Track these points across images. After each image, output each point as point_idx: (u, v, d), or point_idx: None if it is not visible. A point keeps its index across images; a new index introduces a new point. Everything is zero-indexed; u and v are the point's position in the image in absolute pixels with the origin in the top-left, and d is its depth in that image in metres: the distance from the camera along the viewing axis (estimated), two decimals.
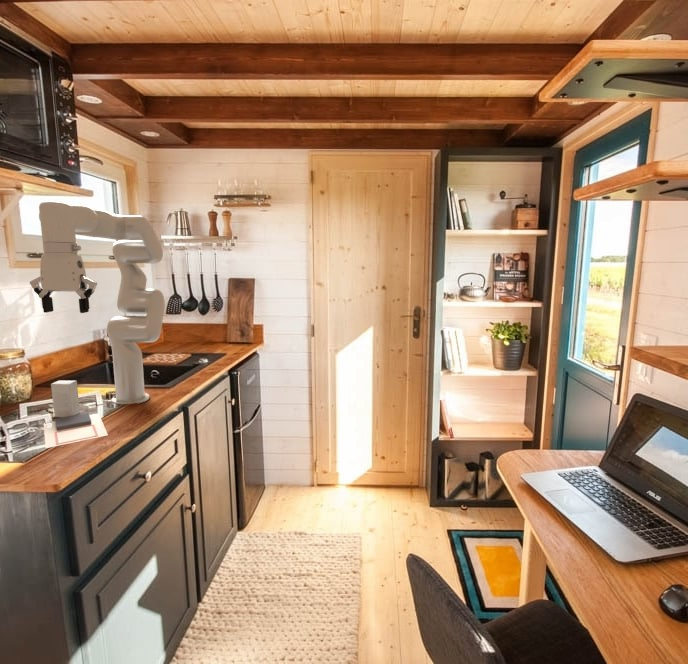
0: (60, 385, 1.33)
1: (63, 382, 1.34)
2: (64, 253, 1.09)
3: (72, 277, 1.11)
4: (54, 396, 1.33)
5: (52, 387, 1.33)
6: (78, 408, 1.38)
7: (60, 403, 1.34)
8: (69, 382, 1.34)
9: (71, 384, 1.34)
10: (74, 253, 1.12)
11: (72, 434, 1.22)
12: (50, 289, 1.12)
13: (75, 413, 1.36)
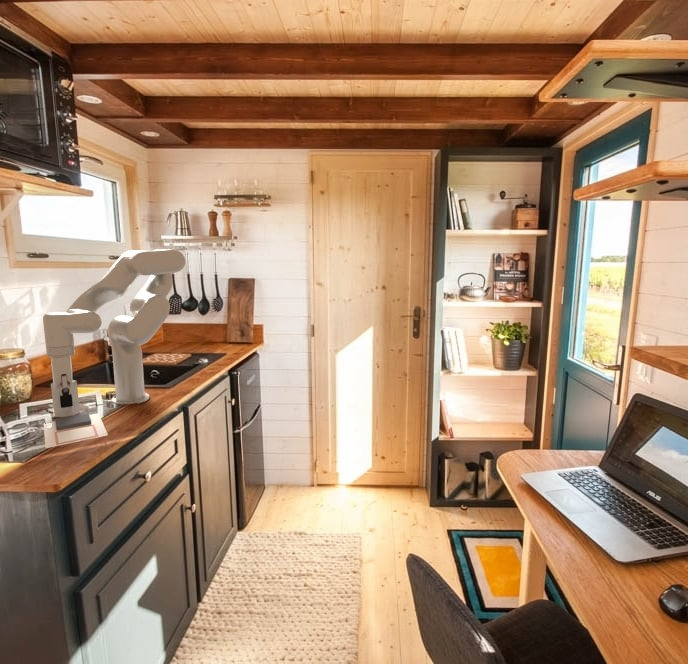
0: None
1: None
2: None
3: None
4: (54, 396, 1.33)
5: (52, 387, 1.33)
6: (78, 408, 1.38)
7: None
8: None
9: None
10: None
11: (72, 434, 1.22)
12: None
13: (75, 413, 1.36)
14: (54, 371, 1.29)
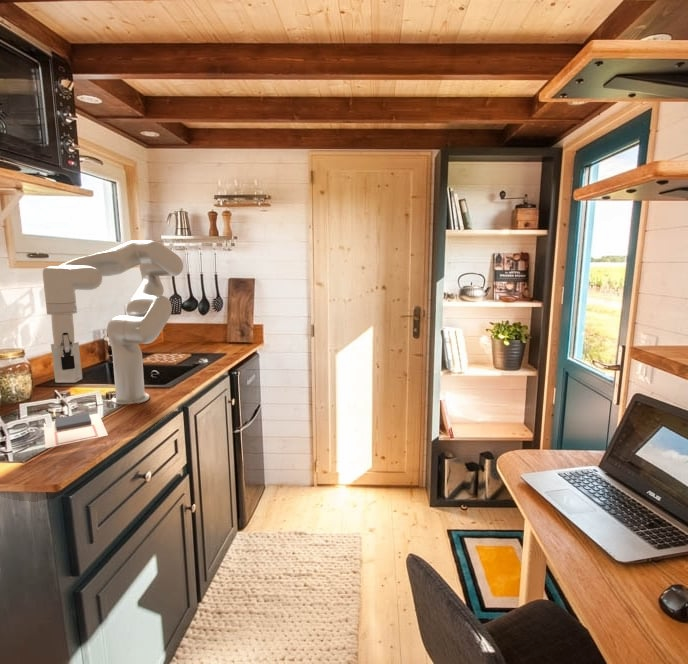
0: None
1: None
2: None
3: None
4: (54, 358, 1.24)
5: (52, 348, 1.24)
6: (80, 372, 1.28)
7: (61, 365, 1.24)
8: None
9: None
10: None
11: (72, 434, 1.22)
12: None
13: (77, 377, 1.27)
14: (55, 329, 1.19)
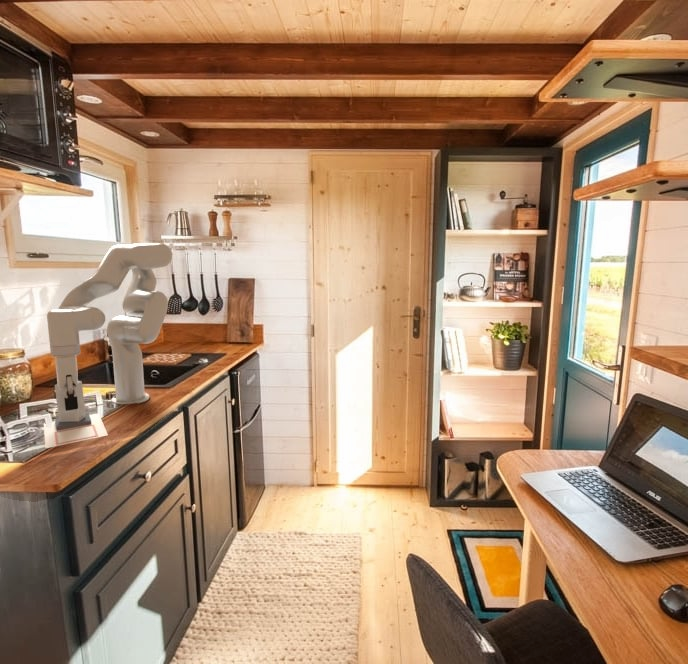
0: None
1: None
2: None
3: None
4: (58, 398, 1.26)
5: (56, 388, 1.25)
6: (83, 410, 1.30)
7: (64, 405, 1.26)
8: None
9: None
10: None
11: (72, 434, 1.22)
12: None
13: (80, 416, 1.29)
14: (59, 372, 1.22)
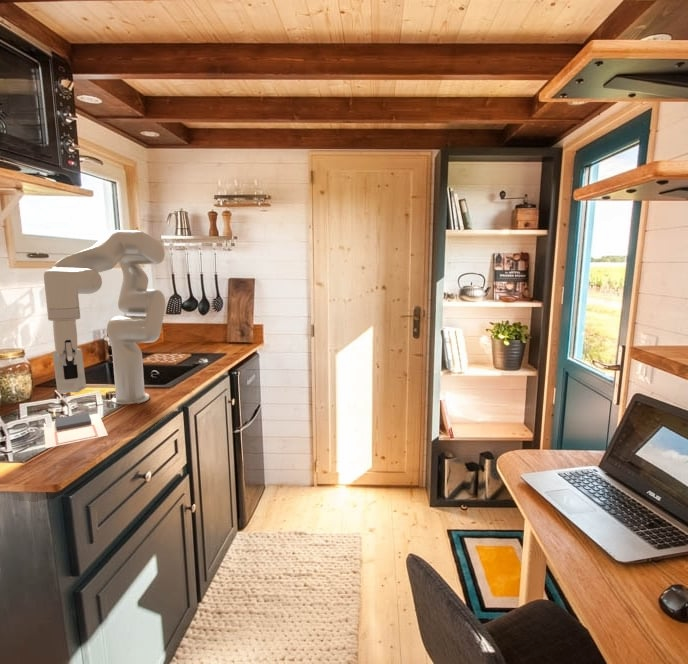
0: None
1: None
2: None
3: None
4: (56, 366, 1.16)
5: (54, 356, 1.16)
6: (84, 380, 1.21)
7: (63, 374, 1.17)
8: None
9: None
10: None
11: (72, 434, 1.22)
12: None
13: (80, 386, 1.19)
14: (57, 336, 1.12)
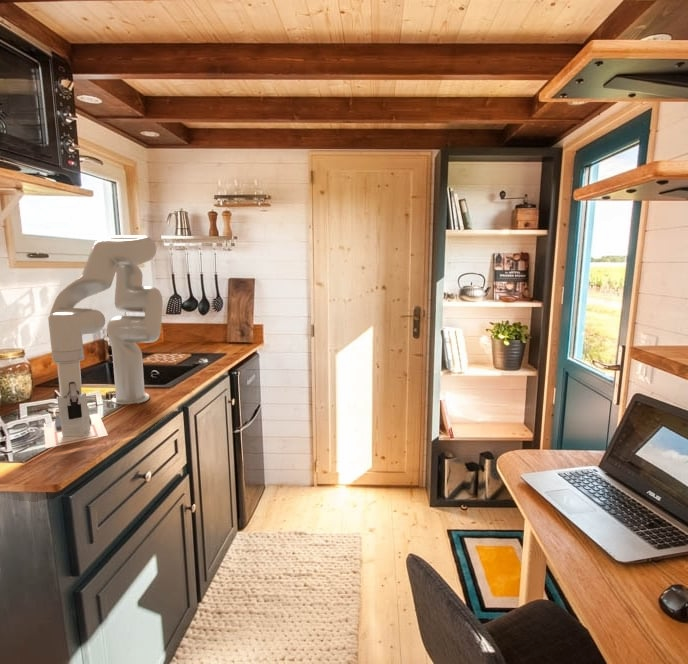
0: None
1: None
2: None
3: None
4: (61, 411, 1.18)
5: (59, 401, 1.18)
6: (88, 423, 1.23)
7: (68, 419, 1.19)
8: None
9: (80, 398, 1.19)
10: None
11: None
12: None
13: (85, 429, 1.22)
14: (61, 379, 1.14)
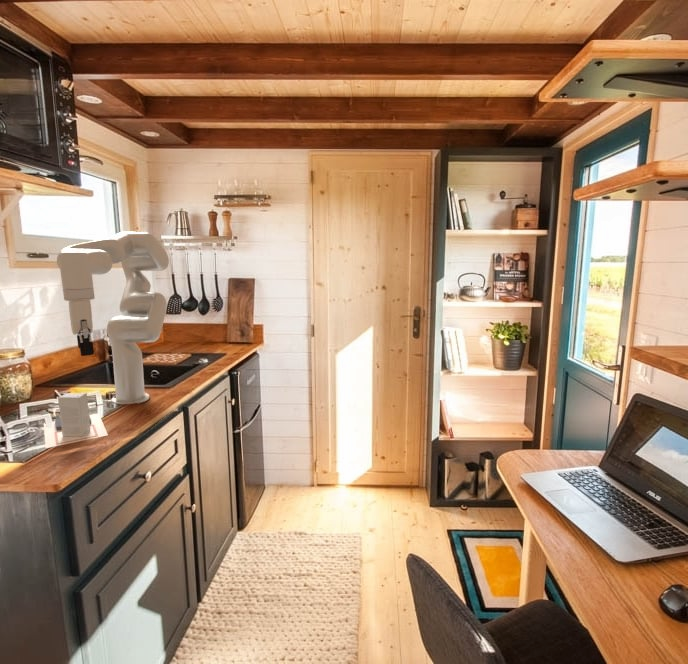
0: (69, 399, 1.18)
1: (72, 395, 1.20)
2: None
3: None
4: (62, 411, 1.19)
5: (59, 401, 1.18)
6: (88, 424, 1.23)
7: (69, 419, 1.19)
8: (79, 395, 1.20)
9: (81, 397, 1.19)
10: None
11: None
12: None
13: (85, 430, 1.22)
14: (73, 316, 1.16)
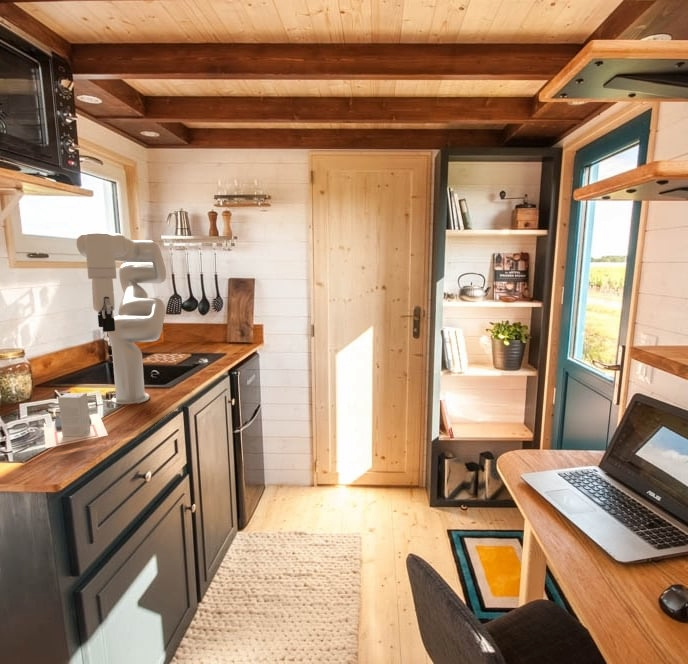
0: (69, 399, 1.18)
1: (72, 395, 1.20)
2: None
3: None
4: (62, 411, 1.19)
5: (60, 401, 1.18)
6: (88, 424, 1.23)
7: (69, 419, 1.19)
8: (79, 395, 1.20)
9: (81, 397, 1.19)
10: None
11: None
12: (113, 309, 1.27)
13: (85, 430, 1.22)
14: (97, 293, 1.22)
